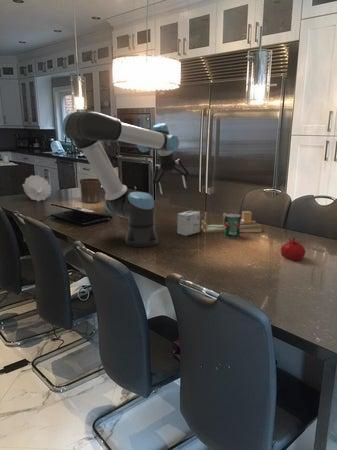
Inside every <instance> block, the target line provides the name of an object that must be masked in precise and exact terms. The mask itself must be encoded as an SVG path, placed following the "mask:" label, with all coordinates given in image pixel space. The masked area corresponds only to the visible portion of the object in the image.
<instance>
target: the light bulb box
mask: <svg viewBox="0 0 337 450" xmlns="http://www.w3.org/2000/svg"><path fill="white" fill-rule="evenodd" d="M200 224H201V212H200V211H197V210H196V211H195V210H188V211H183V212H179V213H177V234H179V235H182V236H189V235H193V234H196V233H197V234H198V233H200Z"/></svg>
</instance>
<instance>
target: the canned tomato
mask: <svg viewBox="0 0 337 450" xmlns="http://www.w3.org/2000/svg"><path fill="white" fill-rule="evenodd" d="M241 219H242V214H238V213H226V214H225V227H224V233H223V236H224V237H225V238H227V239H239V238H240V236H241V235H240V233H241V232H240V223H241Z"/></svg>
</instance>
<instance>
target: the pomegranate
mask: <svg viewBox="0 0 337 450" xmlns="http://www.w3.org/2000/svg"><path fill="white" fill-rule="evenodd" d="M301 243H302V241H300V240H299V241H298V239H296V238H295V237H294V236H292V238H291V239H288V240H287V241H285V242H284V244H282V246H281V247H280V255H281V256H282V257H283V258H284V259H286V260H289V261H293V262H296V261H301V260H302V259H304V257H305V256H306V255H305V254H306V248H305V247H304V245H302V244H301Z"/></svg>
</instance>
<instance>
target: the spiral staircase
mask: <svg viewBox="0 0 337 450" xmlns="http://www.w3.org/2000/svg"><path fill="white" fill-rule="evenodd" d="M21 186H22V187H23V191H24V193H25V194H26V195H27V196H28V198H30V200H33V201H36V202H40V201H46V199H47V198H48V197H50V196H51V195H50V194H52V192H51V191H52V190H51V189H52V186H51V185H50V184H49V181H48V180H45V178H44V177H41V176H39V174H36V175H33V174H31V175H30V176H29V177H26V178H25V181H24V183H22V184H21Z"/></svg>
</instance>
